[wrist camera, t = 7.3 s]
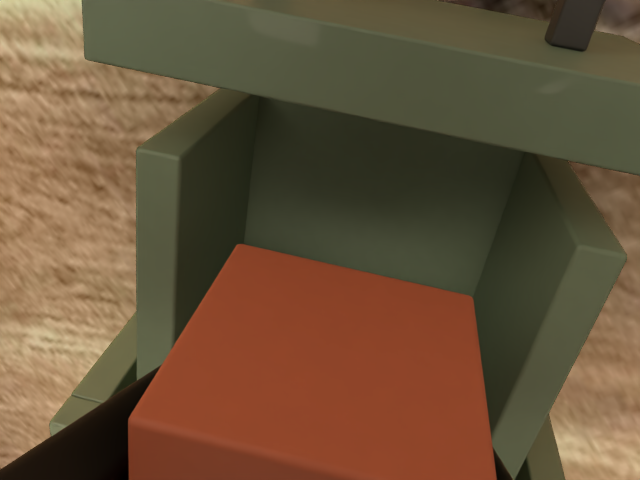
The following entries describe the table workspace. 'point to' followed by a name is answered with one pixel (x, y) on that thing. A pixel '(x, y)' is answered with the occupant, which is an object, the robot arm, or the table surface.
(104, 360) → the cabinet
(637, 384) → the table surface
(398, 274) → the drawer
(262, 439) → the block
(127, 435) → the robot arm
